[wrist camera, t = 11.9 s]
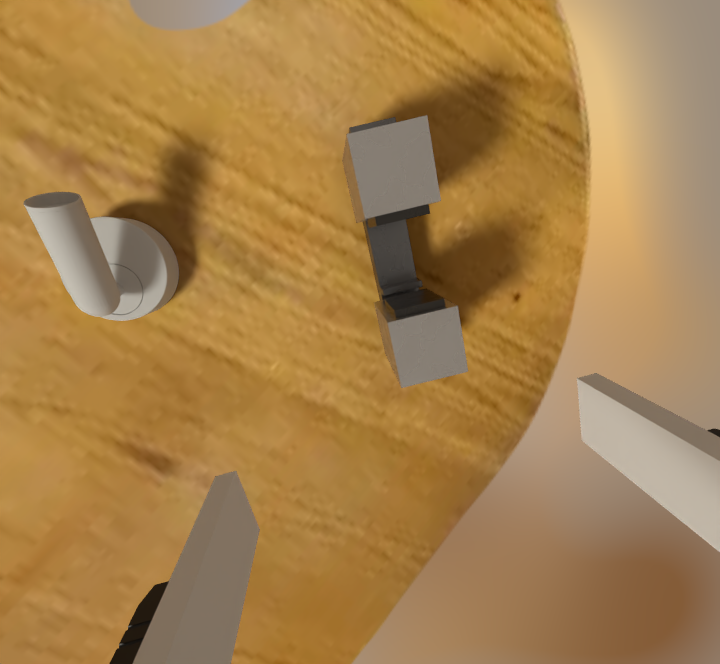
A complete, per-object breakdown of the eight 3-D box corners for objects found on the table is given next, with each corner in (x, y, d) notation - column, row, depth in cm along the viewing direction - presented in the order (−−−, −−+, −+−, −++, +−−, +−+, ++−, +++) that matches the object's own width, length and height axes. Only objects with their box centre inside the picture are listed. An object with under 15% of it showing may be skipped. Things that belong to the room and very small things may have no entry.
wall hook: (108, 189, 23) (129, 344, 25) (172, 203, 32) (183, 315, 34) (-43, 183, 22) (-6, 343, 24) (68, 199, 31) (86, 313, 34)
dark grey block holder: (337, 147, 32) (340, 106, 22) (393, 134, 32) (422, 87, 22) (384, 359, 37) (405, 405, 27) (432, 347, 37) (471, 389, 27)
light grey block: (436, 340, 34) (468, 371, 27) (385, 353, 34) (401, 387, 26) (426, 282, 33) (456, 297, 25) (372, 295, 33) (385, 314, 25)
